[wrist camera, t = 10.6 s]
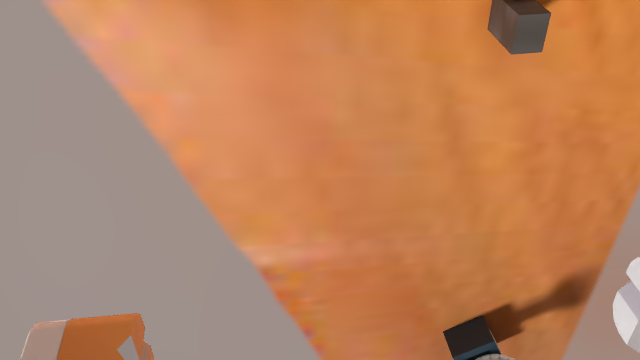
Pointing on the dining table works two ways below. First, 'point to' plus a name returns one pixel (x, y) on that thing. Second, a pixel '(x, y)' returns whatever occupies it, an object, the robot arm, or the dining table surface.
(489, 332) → the watch
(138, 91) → the dining table surface
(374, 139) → the dining table surface
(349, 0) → the dining table surface
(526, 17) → the hammer
